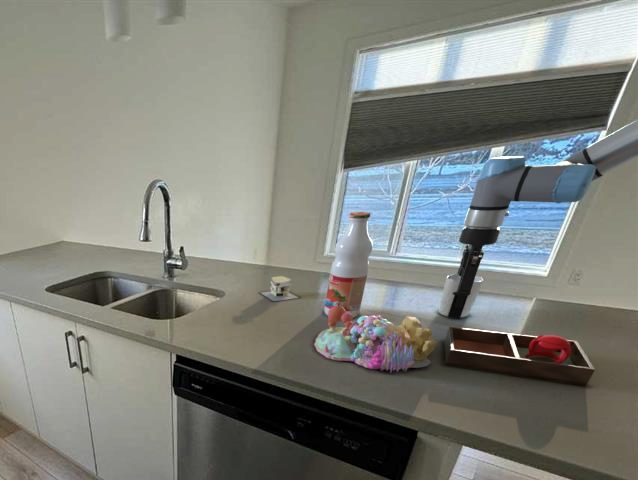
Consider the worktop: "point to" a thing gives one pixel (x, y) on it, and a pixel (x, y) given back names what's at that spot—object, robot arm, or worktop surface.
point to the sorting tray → (513, 356)
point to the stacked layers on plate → (279, 289)
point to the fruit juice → (350, 266)
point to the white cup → (452, 286)
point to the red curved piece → (550, 347)
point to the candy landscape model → (375, 341)
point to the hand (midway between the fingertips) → (453, 312)
